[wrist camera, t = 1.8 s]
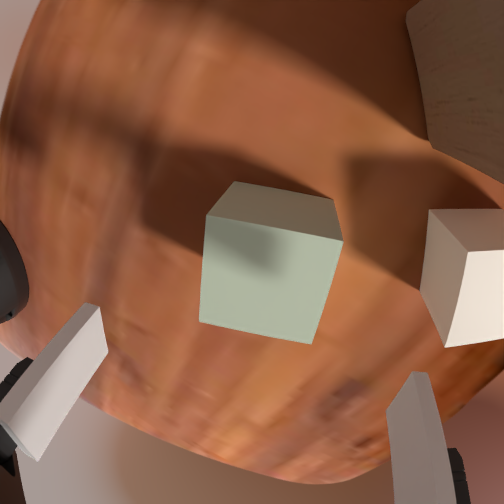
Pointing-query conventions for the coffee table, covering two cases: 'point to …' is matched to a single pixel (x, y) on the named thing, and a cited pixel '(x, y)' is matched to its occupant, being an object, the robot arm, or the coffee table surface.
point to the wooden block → (462, 78)
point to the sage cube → (269, 261)
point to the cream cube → (465, 274)
